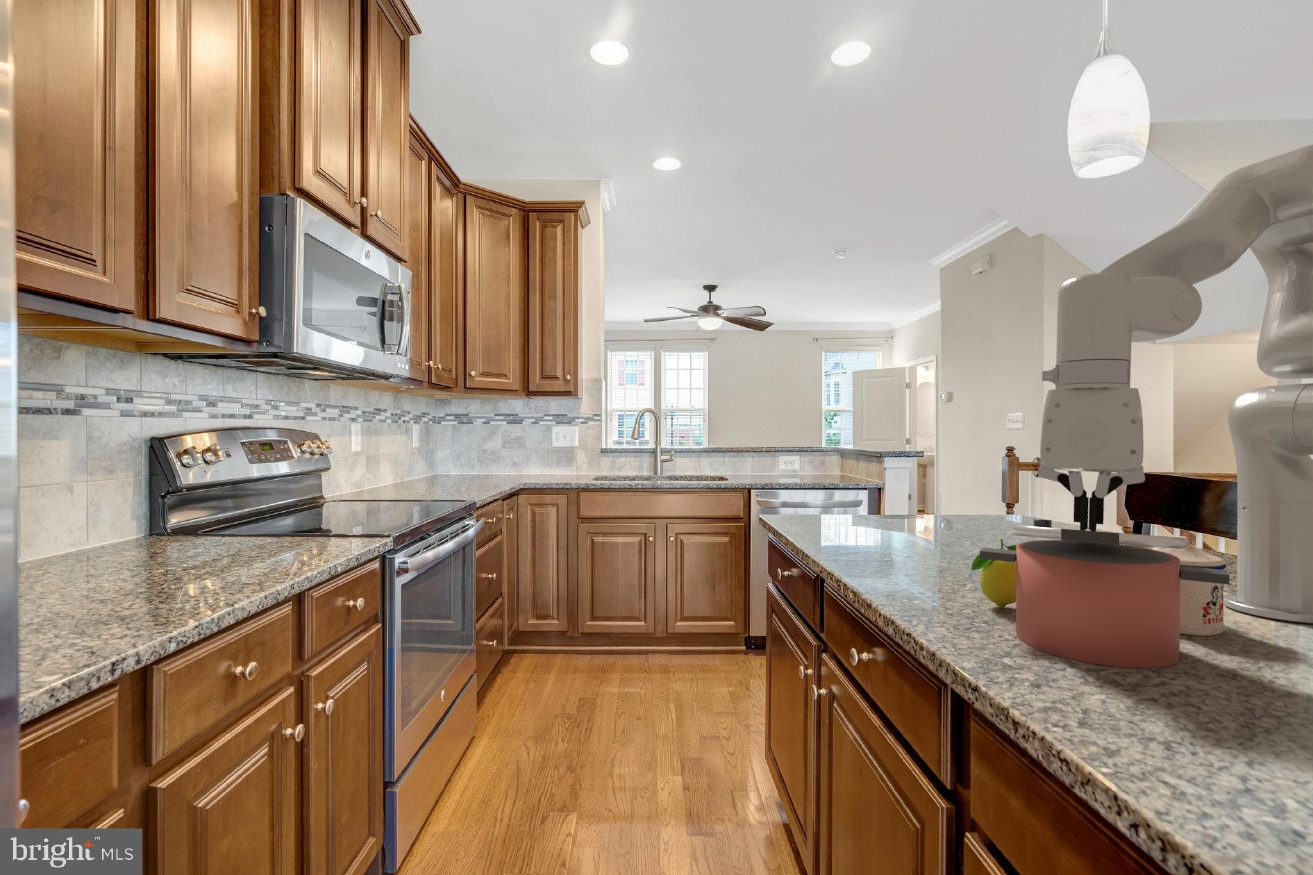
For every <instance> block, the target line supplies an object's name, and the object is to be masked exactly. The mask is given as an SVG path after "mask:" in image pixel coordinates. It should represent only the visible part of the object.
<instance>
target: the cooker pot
mask: <svg viewBox="0 0 1313 875" xmlns="http://www.w3.org/2000/svg"><path fill="white" fill-rule="evenodd" d="M1015 545H1016V550H1008V549H1005V548H1003V549H1001V548H994V547H983V548H981V549H980V550H979V554H980V559H987V560H997V561H1007V562H1015V563H1016V602H1015V605H1016V606H1015V608H1016V609H1015V611H1016V613H1015V615H1016V616H1015V617H1016V618H1015V619H1016V620H1015V625H1016V626H1015V627H1016V628H1015V633H1016V634H1015V635H1016V636H1017V638H1018V639H1019V640H1021V642H1023V643H1025V644H1027V645H1029V646H1031V647H1033V648H1034V649H1037V650H1039V651H1042V652H1045V653H1048V654H1050V655H1051V654H1052V655H1054V656H1057V657H1062V658H1065V659H1069V660H1074V661H1079V662H1082V663H1088V664H1095V665H1101V666H1108V667H1118V668H1127V669H1129V668H1130V669H1131V668H1132V669H1156V668H1164V667H1169V666H1173V665H1176V663H1178V662H1179V661H1180V660H1181V659H1180V650H1181V649H1180V643H1181V642H1180V638H1181V637H1180V579H1181V580H1190V581H1200V582H1210V583H1219V584H1224V585H1230V574H1229V572H1228V571H1227V570H1226V569H1224V570H1219V569H1208V568H1197V567H1187V566H1180V559H1179V558H1178V557H1176V556H1174V555H1172V554H1169V553H1165V552H1161V551H1157V550H1152V549H1151V548H1147V547H1142V546H1135V545H1122V544H1119V545H1115V544H1103V543H1091V542H1078V541H1066V540H1061V539H1046V540H1045V539H1042V540H1041V539H1040V540H1029V541H1022V542H1019V543H1017V544H1015Z"/></svg>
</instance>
